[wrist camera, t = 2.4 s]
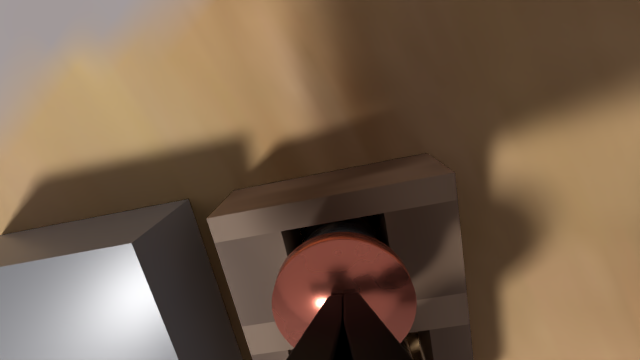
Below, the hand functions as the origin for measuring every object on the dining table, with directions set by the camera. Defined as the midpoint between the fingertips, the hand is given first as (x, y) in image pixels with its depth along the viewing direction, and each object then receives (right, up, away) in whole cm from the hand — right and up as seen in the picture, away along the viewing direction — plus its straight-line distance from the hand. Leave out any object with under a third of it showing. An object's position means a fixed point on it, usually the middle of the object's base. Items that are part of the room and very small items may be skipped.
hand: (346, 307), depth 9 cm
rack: (-9, -4, +7) cm, 12 cm away
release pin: (0, +1, +4) cm, 4 cm away
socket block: (+1, -2, +6) cm, 6 cm away
